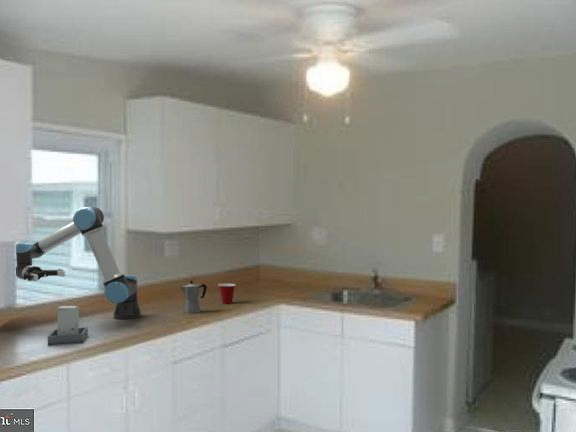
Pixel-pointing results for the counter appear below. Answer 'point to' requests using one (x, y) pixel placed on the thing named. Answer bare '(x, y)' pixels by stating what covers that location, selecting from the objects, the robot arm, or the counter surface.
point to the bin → (68, 337)
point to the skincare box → (68, 320)
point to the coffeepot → (193, 297)
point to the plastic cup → (227, 292)
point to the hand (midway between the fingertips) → (50, 275)
